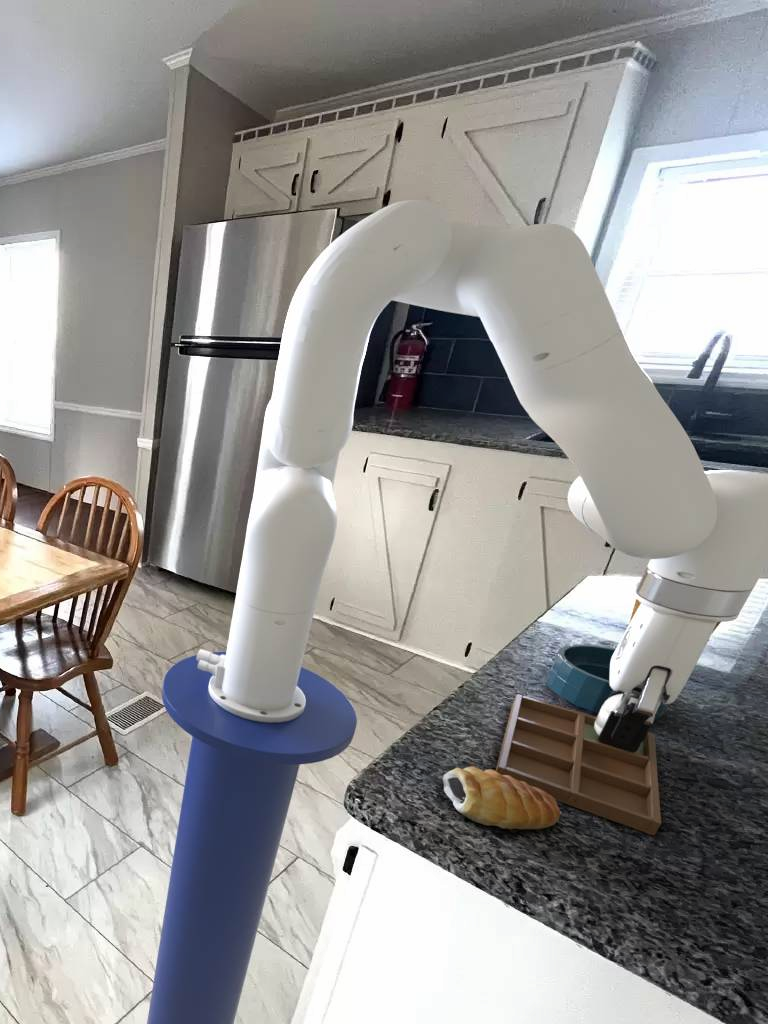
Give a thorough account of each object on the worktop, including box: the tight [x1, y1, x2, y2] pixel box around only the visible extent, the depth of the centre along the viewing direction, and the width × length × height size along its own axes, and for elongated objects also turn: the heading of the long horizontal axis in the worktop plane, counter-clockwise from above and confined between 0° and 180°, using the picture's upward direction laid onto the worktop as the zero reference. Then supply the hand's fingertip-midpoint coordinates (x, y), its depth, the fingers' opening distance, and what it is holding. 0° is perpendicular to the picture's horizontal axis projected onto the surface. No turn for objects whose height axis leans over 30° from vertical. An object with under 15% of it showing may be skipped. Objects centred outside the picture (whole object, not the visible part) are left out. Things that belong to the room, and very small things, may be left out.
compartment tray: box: [495, 693, 662, 836], centre depth 71 cm, size 13×19×2 cm
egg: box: [594, 694, 655, 736], centre depth 72 cm, size 4×4×6 cm
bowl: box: [545, 643, 670, 720], centre depth 81 cm, size 11×11×5 cm
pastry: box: [442, 765, 561, 831], centre depth 65 cm, size 9×7×4 cm
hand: (617, 734), depth 73 cm, fingers open, 4 cm apart
